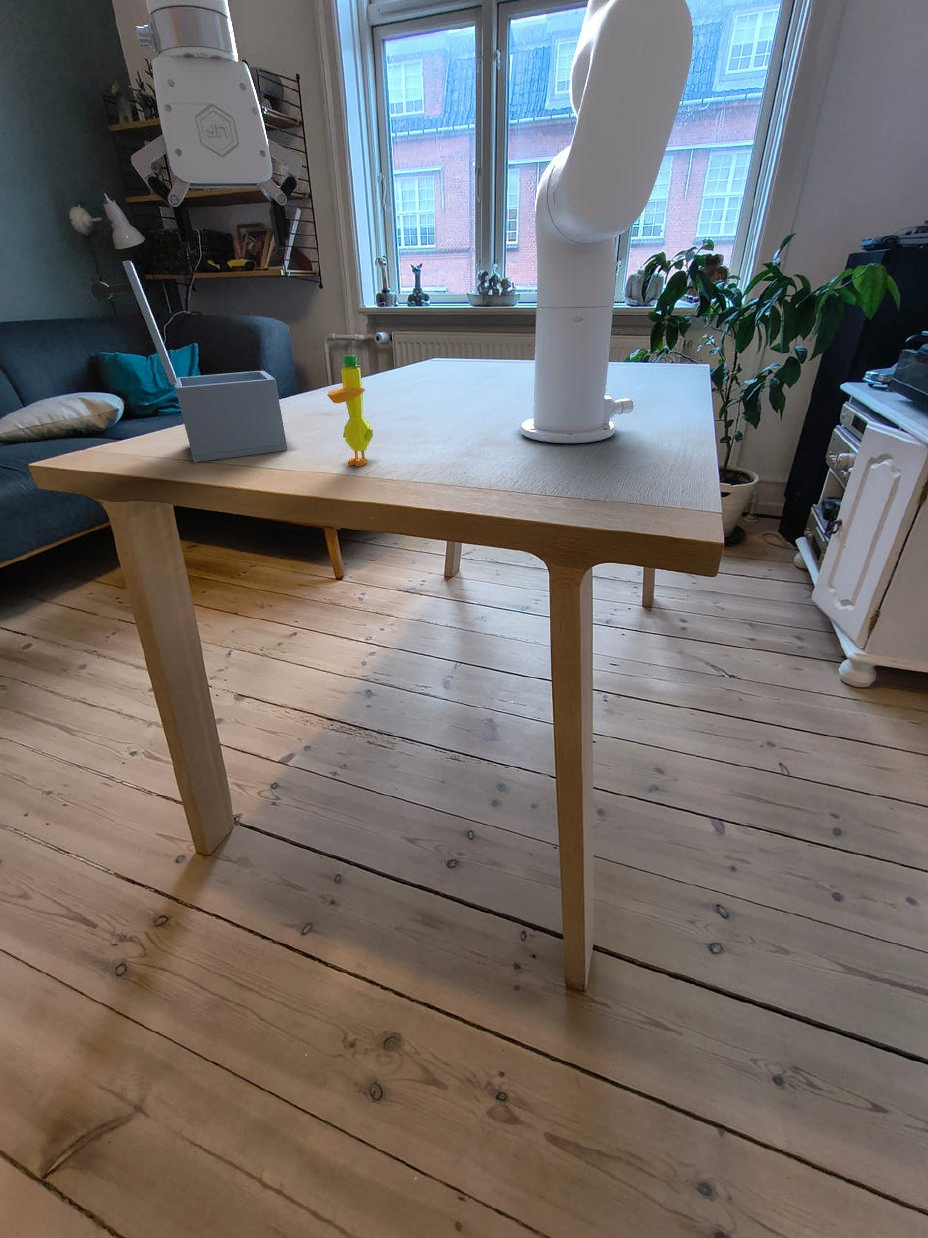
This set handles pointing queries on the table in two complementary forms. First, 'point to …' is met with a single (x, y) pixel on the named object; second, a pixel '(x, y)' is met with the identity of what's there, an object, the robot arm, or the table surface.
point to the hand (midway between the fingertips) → (238, 249)
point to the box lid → (105, 293)
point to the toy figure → (353, 409)
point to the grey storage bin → (231, 414)
